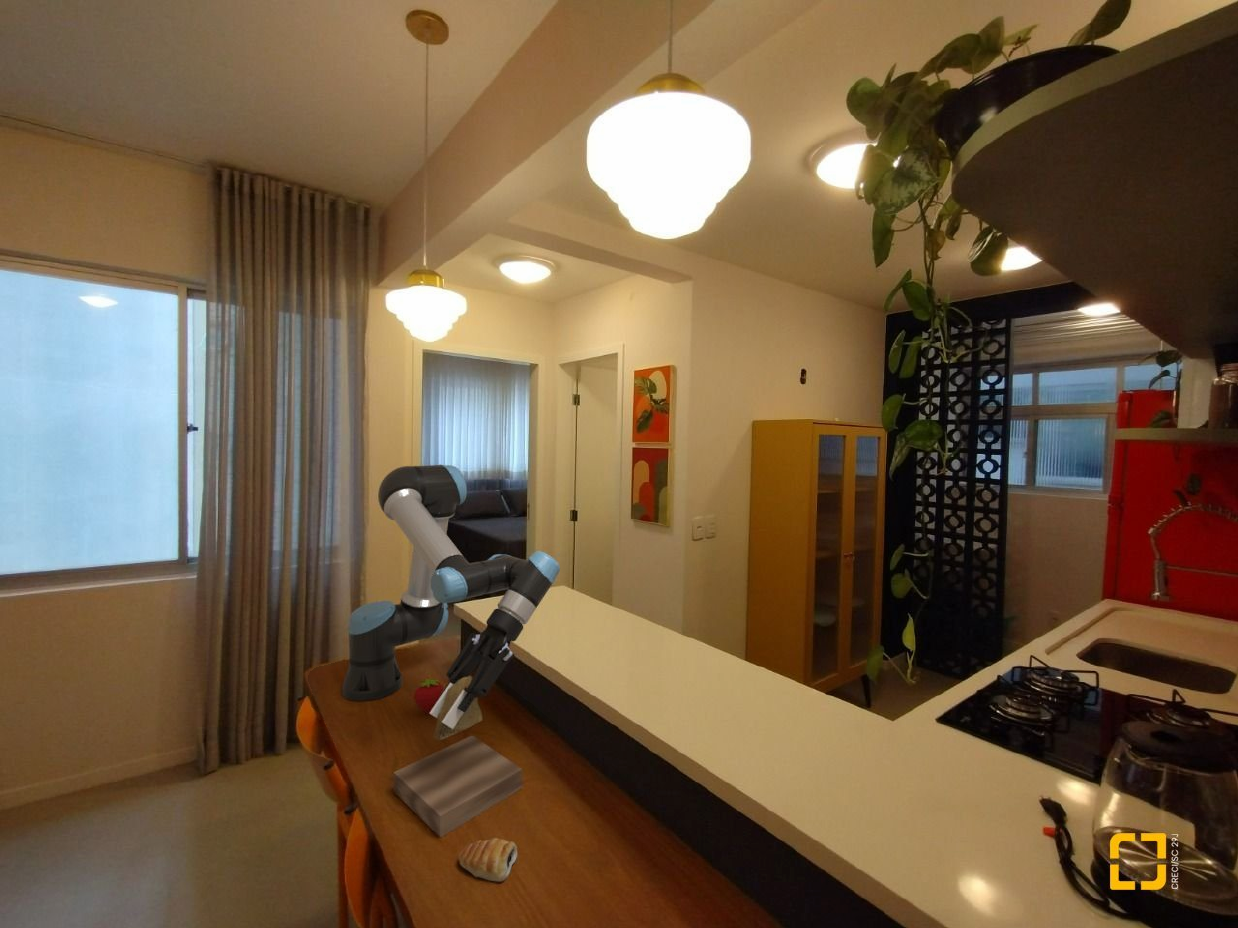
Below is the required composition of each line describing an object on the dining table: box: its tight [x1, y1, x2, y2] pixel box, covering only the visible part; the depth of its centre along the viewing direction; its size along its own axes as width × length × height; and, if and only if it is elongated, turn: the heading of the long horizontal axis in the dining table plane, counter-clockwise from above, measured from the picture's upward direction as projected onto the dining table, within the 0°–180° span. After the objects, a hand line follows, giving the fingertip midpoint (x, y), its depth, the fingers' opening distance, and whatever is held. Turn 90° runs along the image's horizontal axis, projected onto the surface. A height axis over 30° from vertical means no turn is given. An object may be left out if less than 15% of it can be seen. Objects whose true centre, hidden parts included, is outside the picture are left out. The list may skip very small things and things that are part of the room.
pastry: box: [457, 837, 518, 882], centre depth 88 cm, size 9×7×4 cm
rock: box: [433, 674, 483, 741], centre depth 106 cm, size 11×9×10 cm
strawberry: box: [413, 673, 445, 715], centre depth 135 cm, size 6×8×10 cm
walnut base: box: [393, 735, 523, 839], centre depth 106 cm, size 18×18×4 cm
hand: (441, 720), depth 102 cm, fingers closed on rock, 4 cm apart
